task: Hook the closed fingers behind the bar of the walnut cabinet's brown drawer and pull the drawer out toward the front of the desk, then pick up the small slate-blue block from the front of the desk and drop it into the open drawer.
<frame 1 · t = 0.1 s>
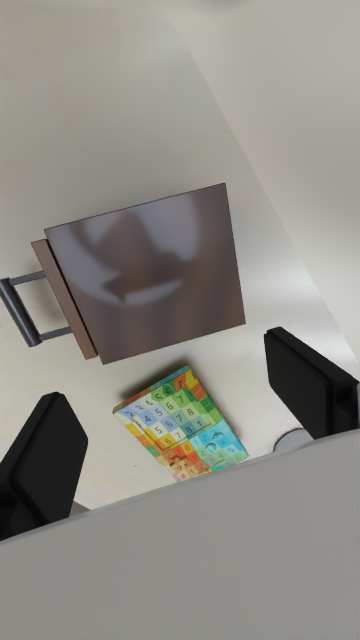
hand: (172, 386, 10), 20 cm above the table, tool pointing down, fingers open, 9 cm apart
puzzle game: (183, 416, 37), on the table
mug: (297, 449, 44), on the table
cabinet: (154, 268, 28), on the table
drawer: (108, 287, 24), point 4 cm above the table, slide at 0.5 cm
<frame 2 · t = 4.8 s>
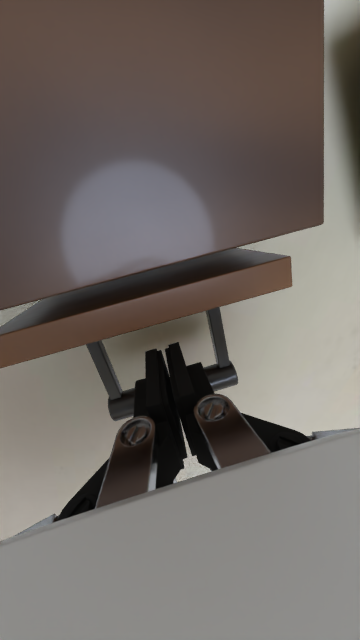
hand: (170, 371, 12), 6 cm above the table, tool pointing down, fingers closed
cabinet: (95, 114, 12), on the table
drawer: (123, 220, 10), point 4 cm above the table, slide at 0.9 cm, touching gripper
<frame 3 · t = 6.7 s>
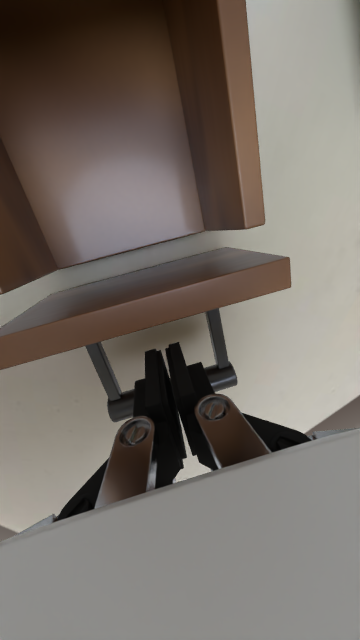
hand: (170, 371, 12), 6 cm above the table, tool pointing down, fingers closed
drawer: (121, 221, 10), point 4 cm above the table, slide at 8.5 cm, touching gripper
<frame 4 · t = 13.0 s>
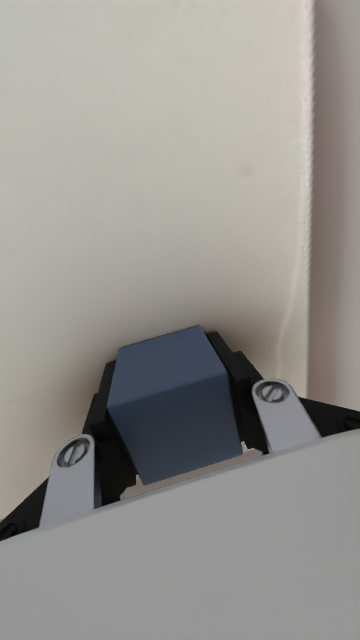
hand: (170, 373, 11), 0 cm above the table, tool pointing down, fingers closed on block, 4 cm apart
block: (169, 370, 12), on the table, touching gripper
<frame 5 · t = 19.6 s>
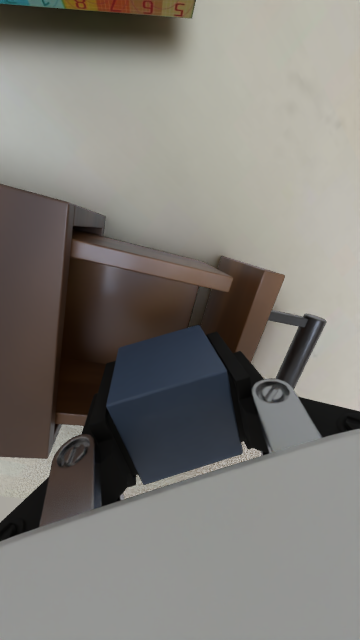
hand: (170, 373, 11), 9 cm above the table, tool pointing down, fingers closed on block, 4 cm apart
block: (169, 369, 12), point 8 cm above the table, touching gripper
drawer: (174, 336, 15), point 4 cm above the table, slide at 8.7 cm
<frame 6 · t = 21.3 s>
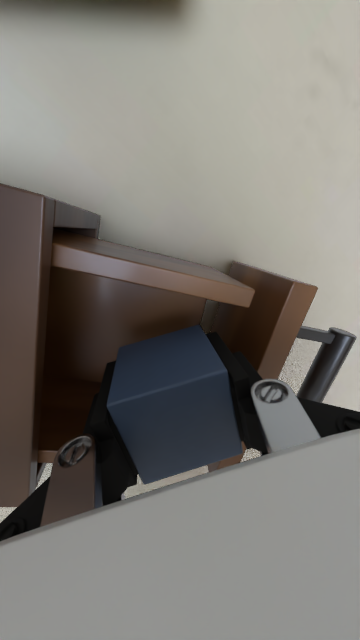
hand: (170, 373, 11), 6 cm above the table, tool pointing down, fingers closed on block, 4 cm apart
block: (169, 369, 12), point 6 cm above the table, touching gripper
drawer: (180, 354, 13), point 4 cm above the table, slide at 8.7 cm
when the fingers open (6 cm above the table, at t = 26.5 s): block drops 4 cm, resting on drawer.
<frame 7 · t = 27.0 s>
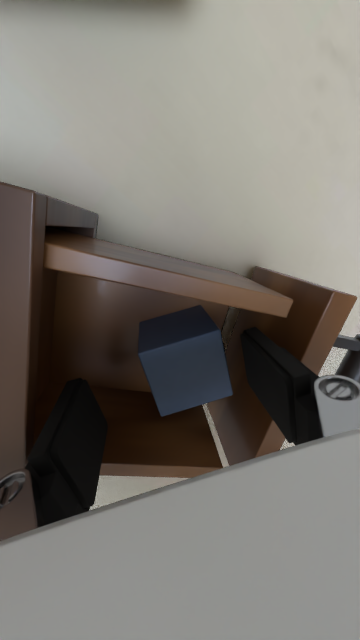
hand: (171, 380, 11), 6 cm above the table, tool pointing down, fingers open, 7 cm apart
block: (177, 340, 15), point 2 cm above the table, touching drawer
drawer: (205, 362, 13), point 4 cm above the table, slide at 10.1 cm, touching block, gripper
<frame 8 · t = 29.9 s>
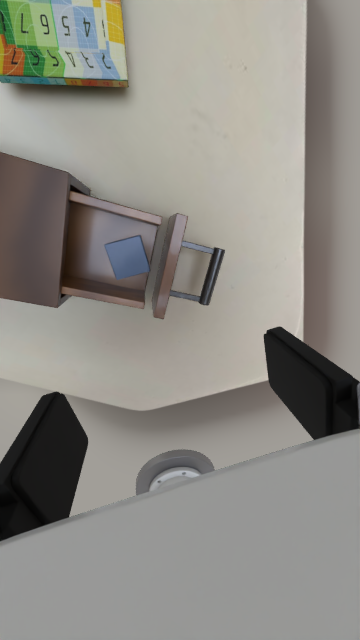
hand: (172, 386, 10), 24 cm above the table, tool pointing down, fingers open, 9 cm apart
block: (129, 255, 29), point 2 cm above the table, touching drawer
cabinet: (21, 227, 28), on the table
drawer: (140, 259, 28), point 4 cm above the table, slide at 10.0 cm, touching block
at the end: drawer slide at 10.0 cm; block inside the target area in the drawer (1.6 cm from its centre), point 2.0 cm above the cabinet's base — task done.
